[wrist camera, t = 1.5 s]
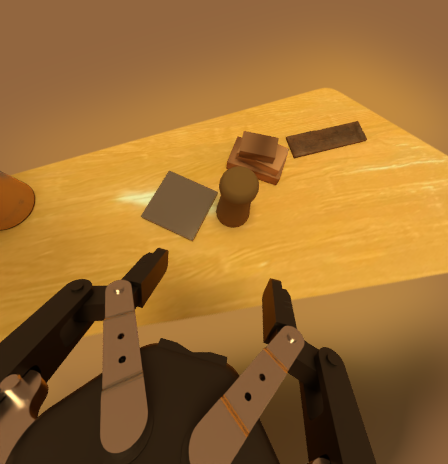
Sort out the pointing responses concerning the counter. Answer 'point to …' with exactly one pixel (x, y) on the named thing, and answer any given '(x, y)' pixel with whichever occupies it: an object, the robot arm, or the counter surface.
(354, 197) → the counter surface
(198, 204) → the slate coaster
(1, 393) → the robot arm
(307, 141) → the wooden plank
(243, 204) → the cork
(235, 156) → the offcut stack
